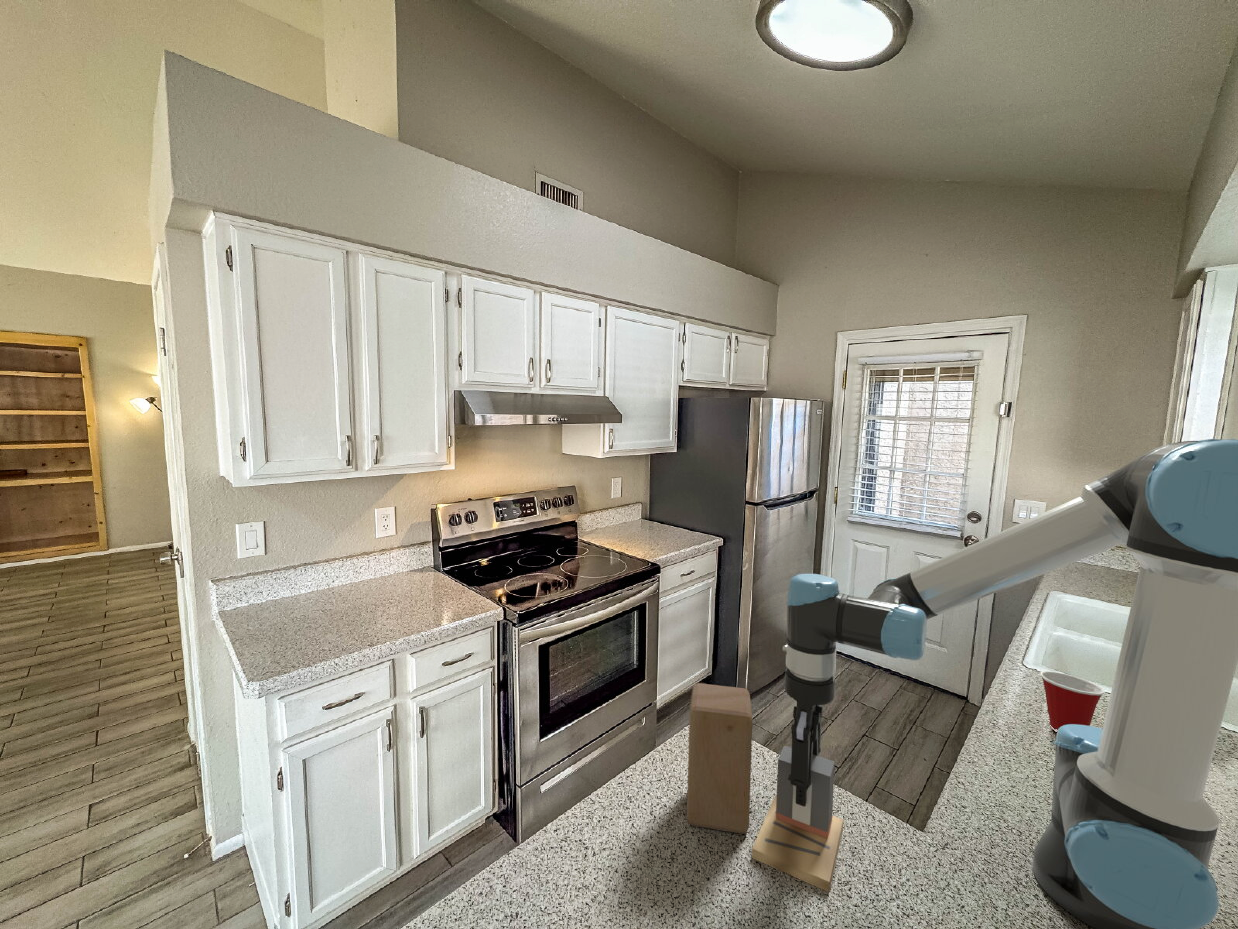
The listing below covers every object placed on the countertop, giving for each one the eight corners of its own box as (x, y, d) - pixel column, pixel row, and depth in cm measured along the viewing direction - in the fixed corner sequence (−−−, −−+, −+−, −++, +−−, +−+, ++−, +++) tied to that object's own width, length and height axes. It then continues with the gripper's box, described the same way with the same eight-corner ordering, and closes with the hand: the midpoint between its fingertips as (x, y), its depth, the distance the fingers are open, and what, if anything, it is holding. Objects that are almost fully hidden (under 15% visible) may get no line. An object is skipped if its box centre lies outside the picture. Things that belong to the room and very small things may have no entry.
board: (842, 828, 84) (843, 819, 84) (829, 892, 72) (829, 882, 72) (775, 802, 89) (775, 794, 89) (752, 858, 77) (752, 848, 77)
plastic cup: (1114, 743, 110) (1118, 688, 109) (1079, 750, 107) (1082, 695, 106) (1058, 716, 120) (1061, 666, 119) (1025, 723, 117) (1028, 672, 116)
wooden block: (749, 838, 81) (753, 716, 80) (686, 827, 83) (689, 708, 82) (746, 795, 91) (749, 686, 90) (690, 787, 93) (692, 680, 92)
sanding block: (832, 820, 83) (834, 761, 83) (827, 838, 79) (830, 776, 79) (782, 802, 87) (784, 745, 87) (775, 818, 84) (778, 759, 83)
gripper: (797, 647, 92) (792, 773, 93) (772, 687, 77) (767, 836, 78) (842, 657, 88) (837, 788, 89) (825, 701, 73) (819, 857, 74)
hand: (804, 810), depth 83 cm, fingers closed on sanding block, 4 cm apart
